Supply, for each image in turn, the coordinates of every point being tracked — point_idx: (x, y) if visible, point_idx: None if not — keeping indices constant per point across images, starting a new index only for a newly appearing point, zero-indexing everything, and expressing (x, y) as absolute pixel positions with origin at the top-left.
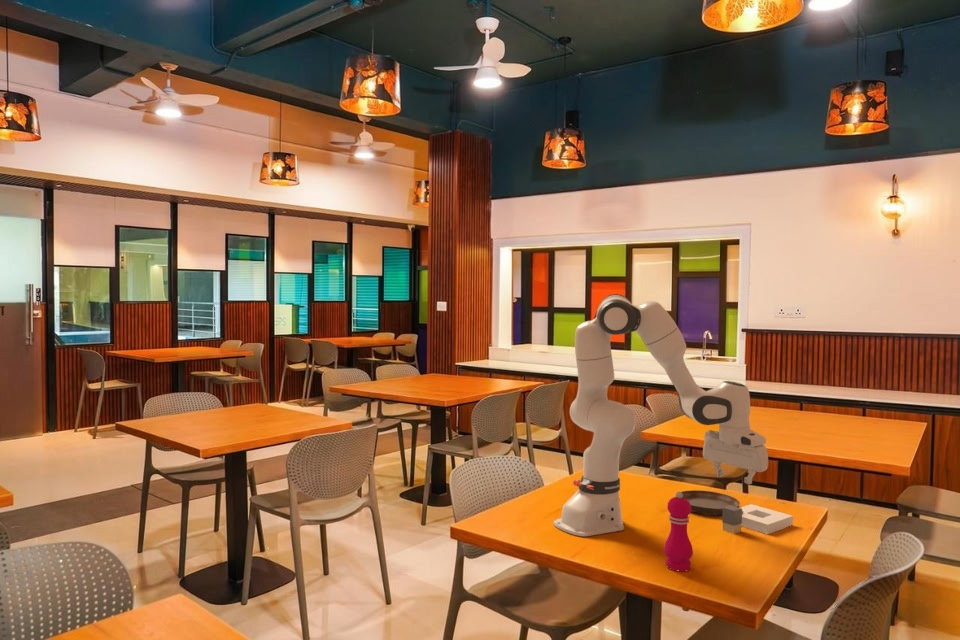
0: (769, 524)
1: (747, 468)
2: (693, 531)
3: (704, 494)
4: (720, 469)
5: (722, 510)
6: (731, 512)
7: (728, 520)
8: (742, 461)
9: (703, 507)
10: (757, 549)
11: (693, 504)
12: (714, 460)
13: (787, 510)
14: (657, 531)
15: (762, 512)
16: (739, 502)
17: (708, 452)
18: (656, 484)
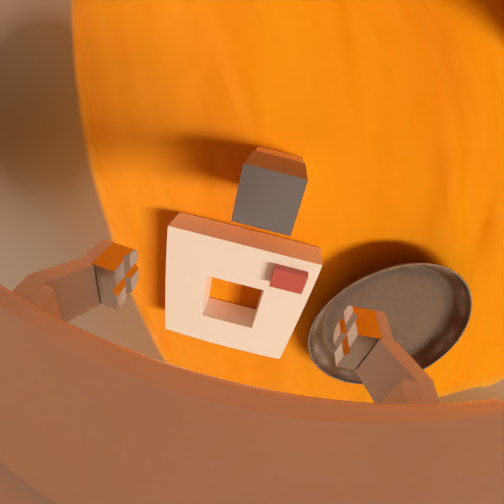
0: (167, 234)
1: (10, 296)
2: (376, 81)
3: None
4: (365, 366)
5: (342, 289)
6: (259, 164)
7: (277, 159)
8: (7, 371)
9: (399, 265)
10: (149, 70)
11: (423, 313)
12: (439, 409)
13: None
14: (454, 29)
15: (232, 321)
16: (312, 358)
17: (498, 461)
18: (481, 367)
